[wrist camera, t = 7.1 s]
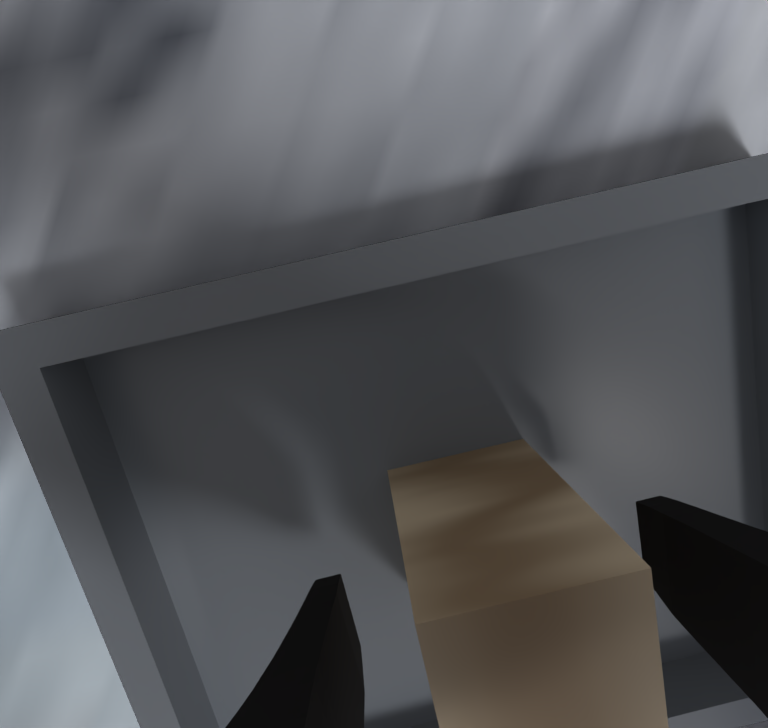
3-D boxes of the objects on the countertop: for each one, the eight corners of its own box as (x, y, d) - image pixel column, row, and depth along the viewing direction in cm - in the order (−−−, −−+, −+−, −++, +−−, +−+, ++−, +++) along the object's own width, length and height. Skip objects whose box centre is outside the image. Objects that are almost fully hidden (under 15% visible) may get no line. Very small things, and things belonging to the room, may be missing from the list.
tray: (754, 159, 13) (844, 135, 11) (779, 635, 17) (853, 698, 14) (47, 322, 13) (-23, 335, 11) (220, 776, 16) (197, 865, 14)
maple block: (522, 438, 14) (651, 568, 8) (543, 559, 15) (672, 757, 9) (387, 470, 14) (414, 624, 8) (415, 590, 15) (459, 810, 9)
